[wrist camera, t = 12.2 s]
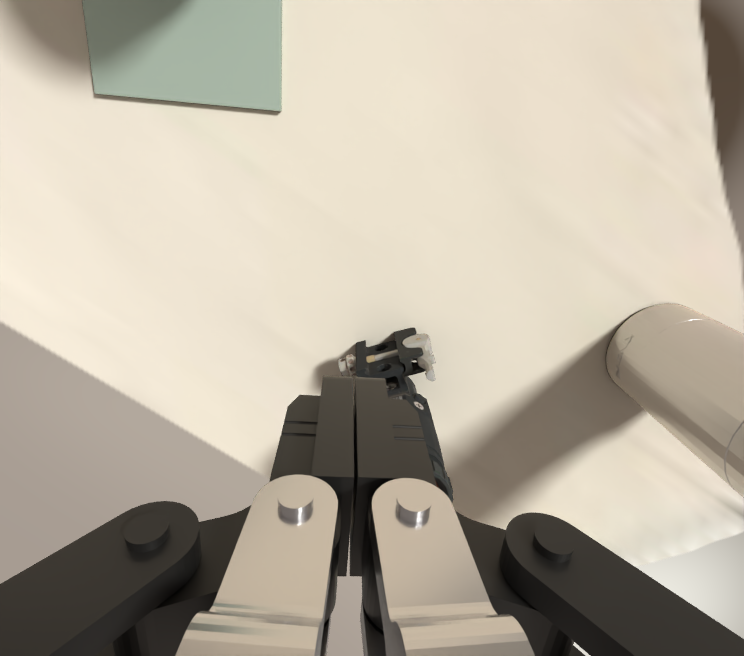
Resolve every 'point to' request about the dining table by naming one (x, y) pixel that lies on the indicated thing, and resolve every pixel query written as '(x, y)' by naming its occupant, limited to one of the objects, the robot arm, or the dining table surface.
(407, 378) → the scope
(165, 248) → the dining table surface
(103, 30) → the mat
